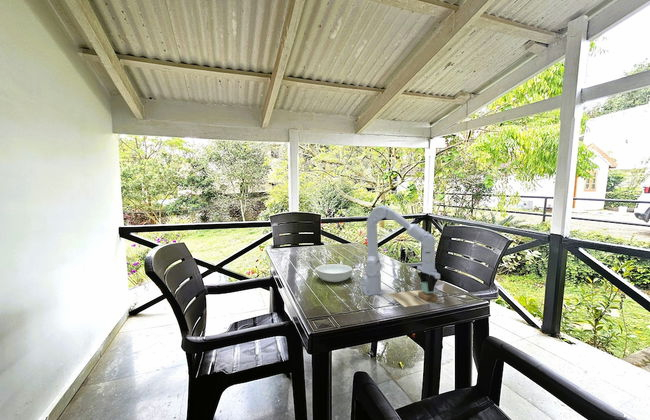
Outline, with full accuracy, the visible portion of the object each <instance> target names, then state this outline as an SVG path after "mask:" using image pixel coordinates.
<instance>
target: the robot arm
mask: <svg viewBox="0 0 650 420" xmlns="http://www.w3.org/2000/svg"><path fill="white" fill-rule="evenodd" d="M383 219H386V220H392V221H394V222H396V223H397V224H398V225H400V226H401V227H402V228H404V229H406V231H407V235H409V236H411V238H413V239H414V240H416V241H417V242H419V243H421V244H420V245H421V246H422V247H421V249H422V250H421V265H417V267H416V270H417V271H420V272H417V275H418V277H419V279H420V282H421V284H422V282H428V290H429V292H431V291H433V290H434V291H435V286H436V285H437V282H438V281H439V279H441V273H439V272H438V271H437V269H436V265H435V264H436V251H435V250H436V248H435V246H436V238H435V236H434V235H433V234H432V233H430V231H426V230H425V229H423V228H422V227H421V225H420V224H419V223H410V222H409V221H408V220H407V219H406V218H404V217H403V216H402V215H400V214H399V213H398V212H397V211H396V210H395V209H393V208H391V207H389V206H388V205H386V204H382V205H376V206H375V207H374V208H373V209H372V210H371V212H370V214H369V216H368V218H367V219H366V238H367V259H366V265H365V268H364V270H365V275H362V276H361V278H360V291H361V292H362V293H363V294H364V295H366V296H375V295H383V294H385V292H384V291H382V290H381V288H382V284H381V282H382V281H381V280H382V273H381V272H380V271H381V270H382V262H381V261H380V256H379V247H378V243H379V242H378V224H379V223H380V222H381V221H382V220H383Z"/></svg>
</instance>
